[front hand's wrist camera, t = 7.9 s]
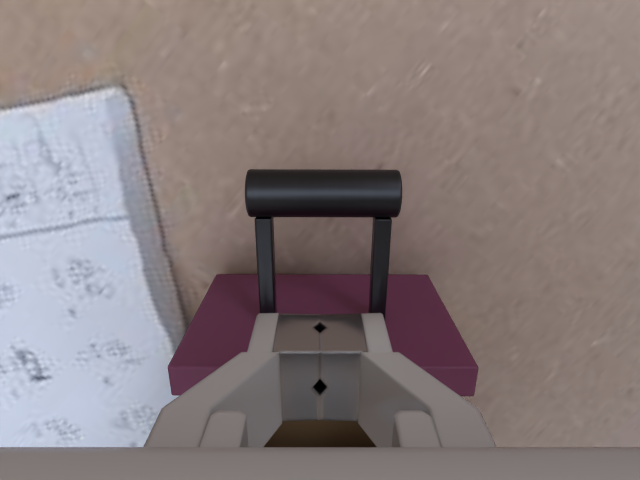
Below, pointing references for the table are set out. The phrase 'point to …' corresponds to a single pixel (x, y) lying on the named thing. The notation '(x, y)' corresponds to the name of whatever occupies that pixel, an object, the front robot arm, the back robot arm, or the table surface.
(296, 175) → the drawer
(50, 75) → the table surface
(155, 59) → the table surface
